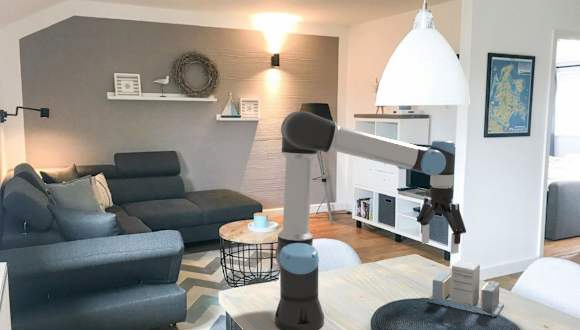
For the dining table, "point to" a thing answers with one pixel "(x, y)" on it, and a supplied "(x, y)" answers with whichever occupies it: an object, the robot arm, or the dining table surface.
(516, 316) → the dining table surface
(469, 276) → the supplement box
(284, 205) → the robot arm
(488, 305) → the vise
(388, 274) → the dining table surface
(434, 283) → the block
